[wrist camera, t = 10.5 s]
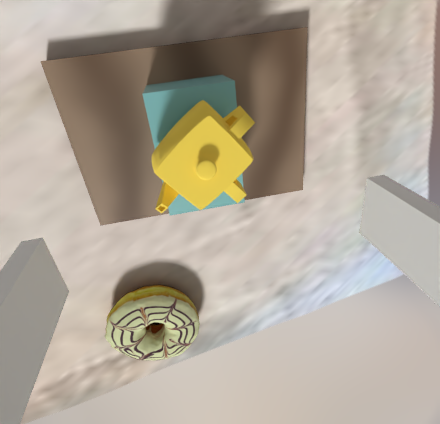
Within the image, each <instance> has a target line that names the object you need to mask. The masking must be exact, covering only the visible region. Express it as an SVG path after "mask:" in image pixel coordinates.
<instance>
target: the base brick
mask: <svg viewBox="0 0 440 424" xmlns="http://www.w3.org/2000/svg"><path fill="white" fill-rule="evenodd" d="M142 95H143V99H144V103H145V108H146V112H147V117H148V121H149V125H150V130H151V134H152V139H153V143H154V148H155V149H156V147H157V146H158V145H159V143H160V142H161V141H162V140H163V138H164V137H165V136H166V135H167V134H168V132H169V131H170V130H171V129H172V128H173V127H174V125H175V124H176V123H177V122H178V121H179V120H180V119H181V118H182V117H183V116H184V115H185V114H186V113H187V112H188V111H189V110H190V109H191V108H193V107H194V106H195V105H196V104H197V103H198V102H200V101H202V100H204V101H206V102H207V103H208V104H209V105H210V106H211V107H212V108H213V109H214V110H215V111H216V112H217V113H218V114H219V115H220V116H221V117H222V118H224V117H226V116H227V115H228V114H229V113H231V112H232V111H233V110H234V109H236V108H237V101H236V89H235V81H234V80H232V79H230V78H228V77H226V76H224V75H216V76H209V77H201V78H194V79H187V80H180V81H173V82H165V83H158V84H151V85H146V87H145V89H144V91H143V94H142ZM237 180H238V181H239V182H240V183H241V185H242V187H243V176H242V174H241V175H240V176H239V177H238V178H237ZM162 183H163V180H162ZM243 189H244V188H243ZM243 202H245V201H244V198H243V199H242V200H241V201H240V202H239V203H243ZM232 204H237V202H236V201H234V200H233V199H232V198H231V197H230V196H229V195H228V194H226V193H225V192H224V191H223V192H222V193H221V194H220V195H219V196H218V197H217V198H216V199H215V200H213V201H212V202H211V203H210V204H209V205H208V206H206V207H205V208H204V209H209V208H215V207H220V206H226V205H232ZM168 209H169V214H170V215H175V214H181V213H187V212H192V211H198V210H200V209H198V208H197V207H195V206H194V205H193V204H192V203H190V202H189V201H188V200H186V199H185V198H184V197H183V196H181V195H180V194H178V196H177V197H176V198H175V199H174V201H173V202H172V203H171V204H170V206H169V207H168ZM204 209H202V210H204Z"/></svg>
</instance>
